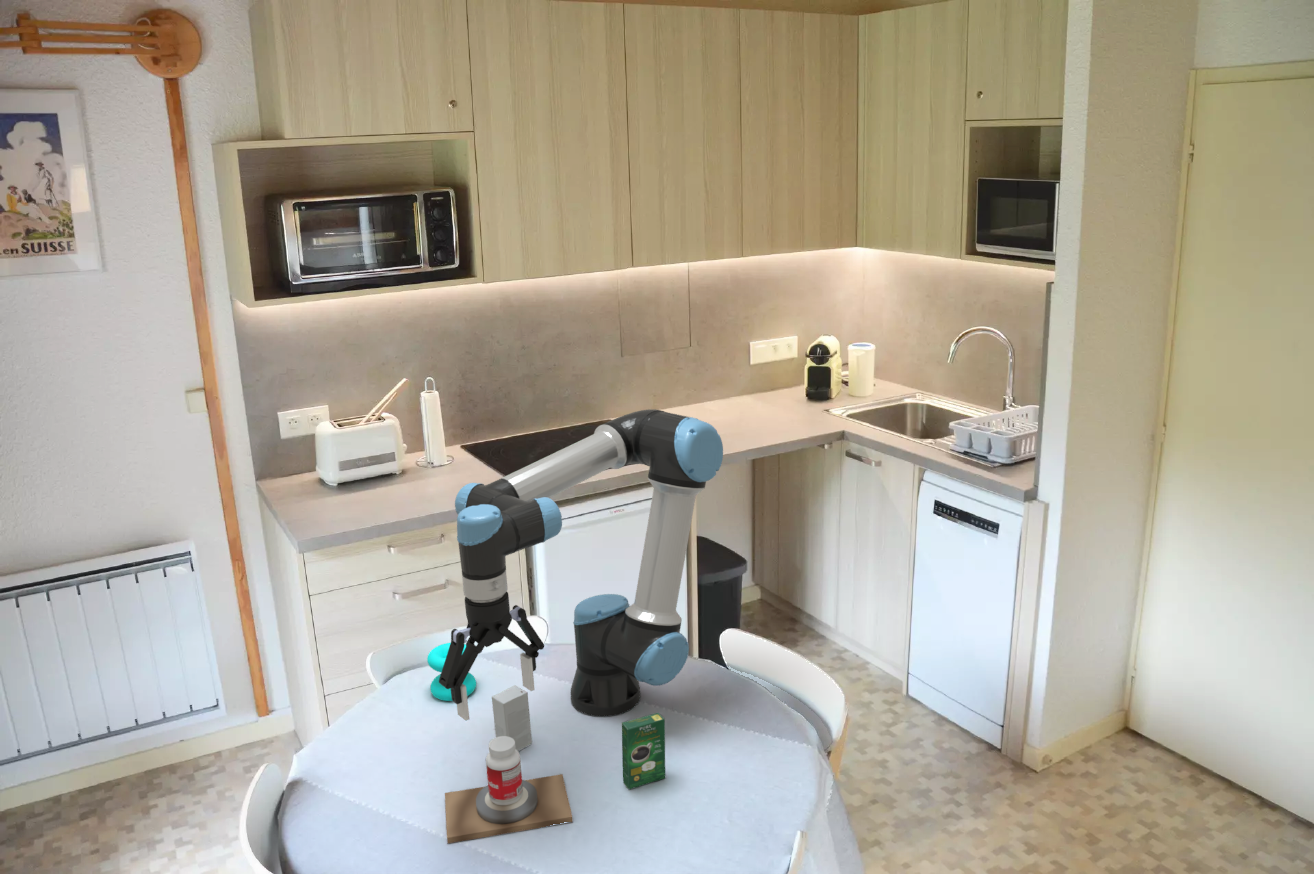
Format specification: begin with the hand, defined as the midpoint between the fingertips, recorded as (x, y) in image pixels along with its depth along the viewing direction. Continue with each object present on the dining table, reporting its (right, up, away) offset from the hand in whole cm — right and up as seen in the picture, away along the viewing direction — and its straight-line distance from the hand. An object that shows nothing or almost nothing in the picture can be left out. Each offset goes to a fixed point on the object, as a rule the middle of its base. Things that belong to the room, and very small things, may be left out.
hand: (496, 702), depth 184 cm
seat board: (+1, -21, +4) cm, 21 cm away
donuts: (-16, -9, +45) cm, 48 cm away
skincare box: (0, -15, +23) cm, 28 cm away
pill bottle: (+1, -18, +3) cm, 18 cm away
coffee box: (+26, -18, +11) cm, 34 cm away
